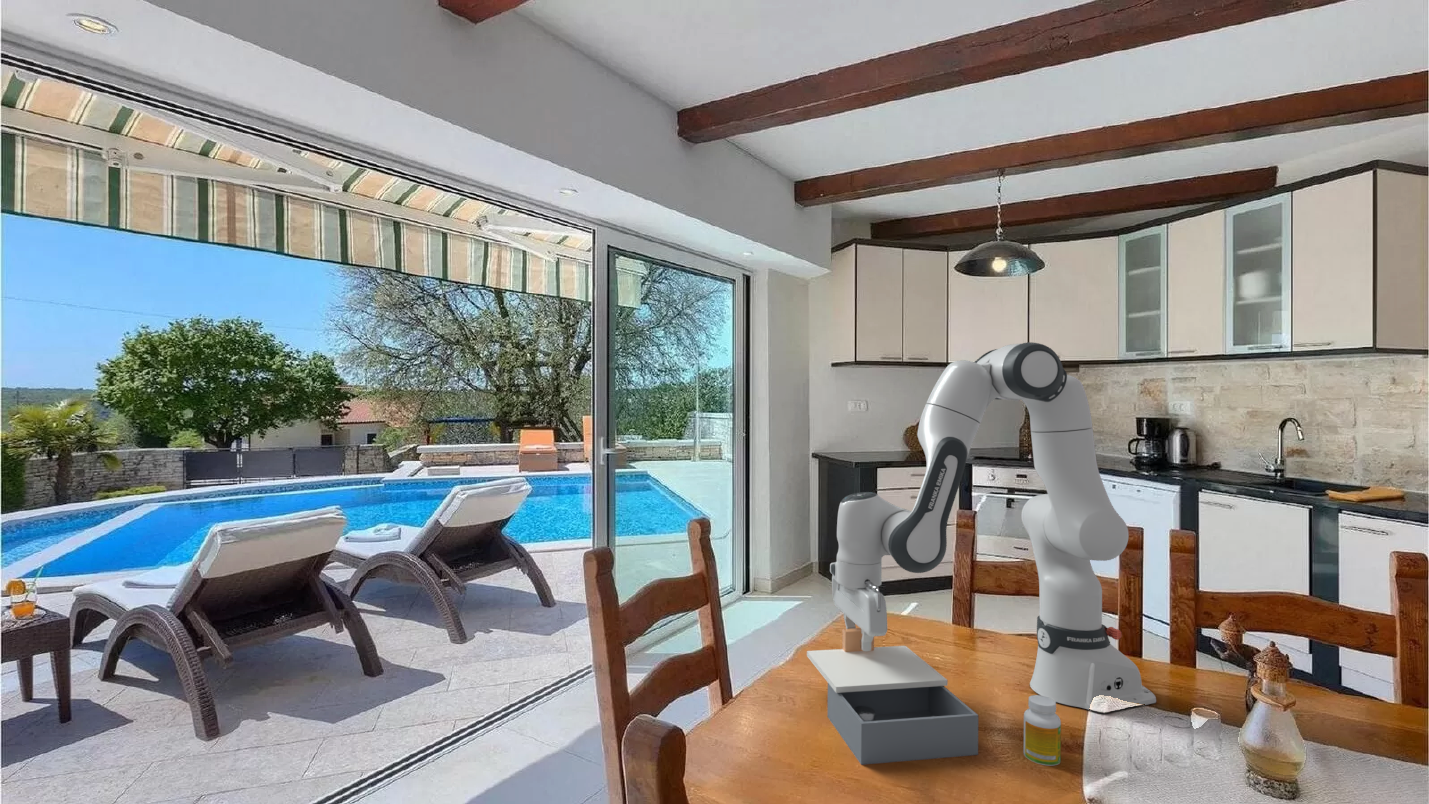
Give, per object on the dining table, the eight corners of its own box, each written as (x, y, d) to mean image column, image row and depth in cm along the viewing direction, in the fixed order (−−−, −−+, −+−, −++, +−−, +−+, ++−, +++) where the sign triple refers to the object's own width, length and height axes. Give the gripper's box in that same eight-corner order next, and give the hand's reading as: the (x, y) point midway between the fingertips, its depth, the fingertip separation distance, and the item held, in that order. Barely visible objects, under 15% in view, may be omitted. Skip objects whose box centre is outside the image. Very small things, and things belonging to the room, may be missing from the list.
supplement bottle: (1065, 771, 103) (1065, 709, 103) (1028, 767, 104) (1028, 706, 104) (1054, 753, 108) (1055, 694, 108) (1019, 749, 109) (1020, 691, 110)
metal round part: (869, 722, 117) (870, 705, 117) (878, 732, 114) (878, 715, 114) (850, 723, 117) (850, 707, 117) (858, 734, 113) (858, 716, 113)
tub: (930, 712, 122) (930, 675, 122) (978, 758, 107) (978, 715, 107) (827, 719, 119) (827, 681, 119) (861, 768, 103) (861, 723, 103)
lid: (905, 650, 134) (905, 626, 134) (947, 685, 117) (947, 657, 117) (806, 656, 130) (807, 630, 130) (836, 692, 114) (836, 664, 114)
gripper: (896, 587, 122) (895, 662, 122) (855, 561, 142) (854, 625, 142) (863, 589, 121) (863, 664, 121) (827, 562, 141) (826, 627, 141)
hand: (858, 643), depth 131 cm, fingers open, 6 cm apart
